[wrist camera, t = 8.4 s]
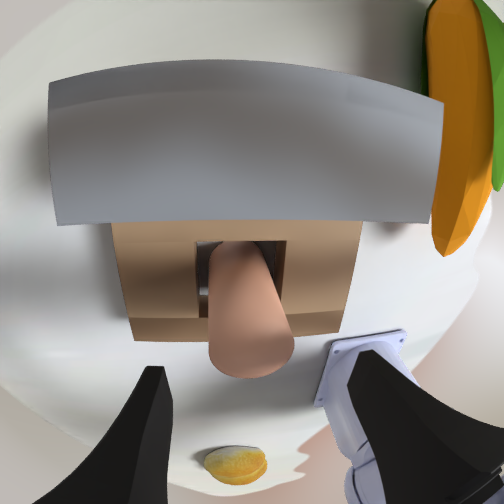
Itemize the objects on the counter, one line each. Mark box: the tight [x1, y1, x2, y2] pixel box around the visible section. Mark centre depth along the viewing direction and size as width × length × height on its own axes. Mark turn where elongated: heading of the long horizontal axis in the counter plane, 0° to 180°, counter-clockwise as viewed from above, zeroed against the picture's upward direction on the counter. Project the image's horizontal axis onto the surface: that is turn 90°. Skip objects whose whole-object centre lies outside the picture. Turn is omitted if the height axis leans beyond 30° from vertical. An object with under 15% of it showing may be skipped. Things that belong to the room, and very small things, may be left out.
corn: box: [421, 0, 504, 257], centre depth 12 cm, size 7×8×20 cm
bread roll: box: [204, 446, 267, 485], centre depth 29 cm, size 8×9×4 cm
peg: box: [208, 241, 294, 379], centre depth 15 cm, size 4×4×8 cm
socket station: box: [48, 60, 444, 342], centre depth 14 cm, size 15×14×8 cm
